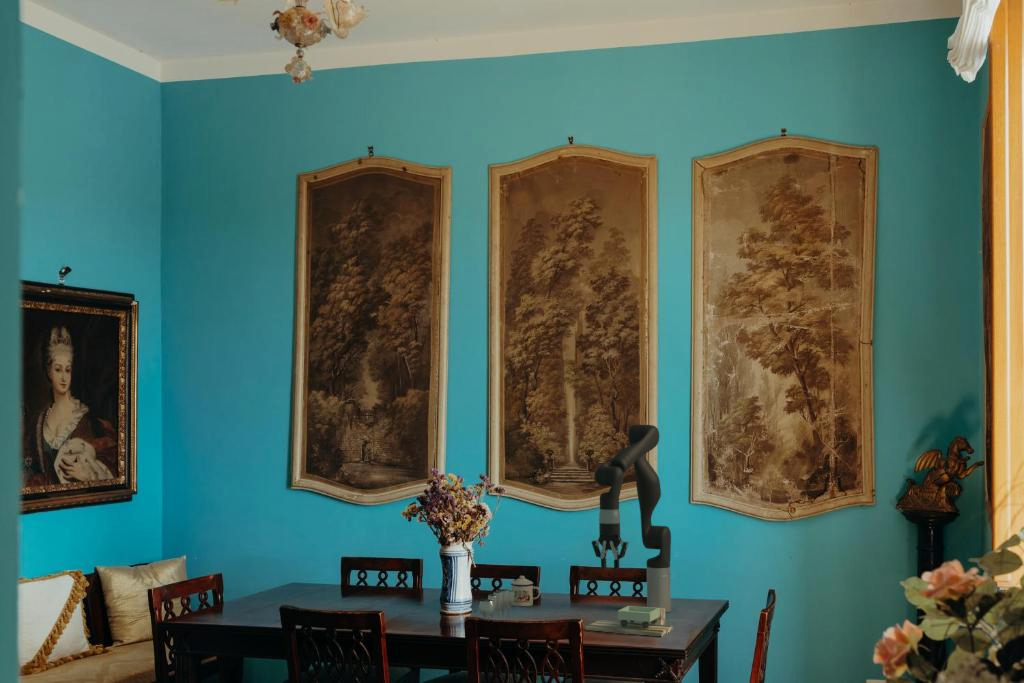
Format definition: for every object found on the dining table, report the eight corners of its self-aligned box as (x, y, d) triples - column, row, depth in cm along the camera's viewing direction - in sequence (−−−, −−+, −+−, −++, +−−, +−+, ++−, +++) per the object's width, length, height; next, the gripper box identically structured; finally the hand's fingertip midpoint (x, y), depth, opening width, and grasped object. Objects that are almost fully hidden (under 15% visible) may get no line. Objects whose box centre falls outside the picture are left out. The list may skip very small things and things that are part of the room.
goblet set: (503, 622, 399) (503, 586, 400) (517, 622, 397) (517, 586, 398) (476, 636, 373) (476, 598, 374) (492, 637, 371) (491, 598, 372)
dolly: (628, 621, 387) (627, 605, 388) (659, 623, 382) (659, 608, 383) (617, 626, 377) (617, 610, 378) (650, 629, 372) (650, 613, 373)
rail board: (599, 624, 393) (599, 618, 394) (672, 630, 381) (672, 624, 382) (585, 630, 381) (585, 625, 381) (661, 637, 369) (660, 631, 369)
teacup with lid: (510, 606, 431) (510, 577, 432) (511, 602, 440) (511, 574, 441) (539, 607, 430) (539, 577, 431) (540, 603, 439) (540, 574, 440)
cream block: (652, 623, 394) (651, 607, 394) (665, 624, 391) (664, 608, 392) (647, 626, 389) (647, 609, 390) (661, 627, 387) (660, 610, 387)
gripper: (631, 521, 387) (632, 569, 386) (595, 520, 393) (595, 567, 392) (624, 523, 381) (625, 572, 379) (587, 521, 387) (588, 569, 385)
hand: (610, 569), depth 386 cm, fingers open, 4 cm apart
